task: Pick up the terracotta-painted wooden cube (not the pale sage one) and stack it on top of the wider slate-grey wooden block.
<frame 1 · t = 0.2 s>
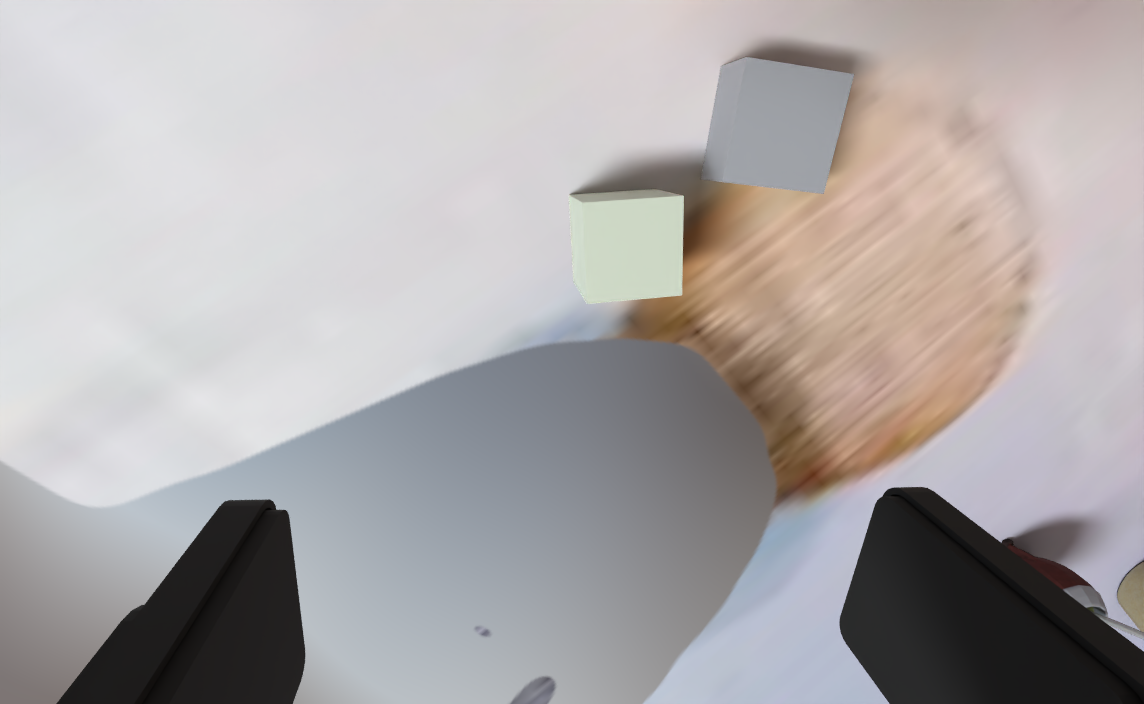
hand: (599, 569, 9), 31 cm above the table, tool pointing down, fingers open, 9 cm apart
slate-grey block: (757, 131, 37), on the table
sage cube: (613, 236, 38), on the table
mate gourd: (1002, 558, 55), on the table
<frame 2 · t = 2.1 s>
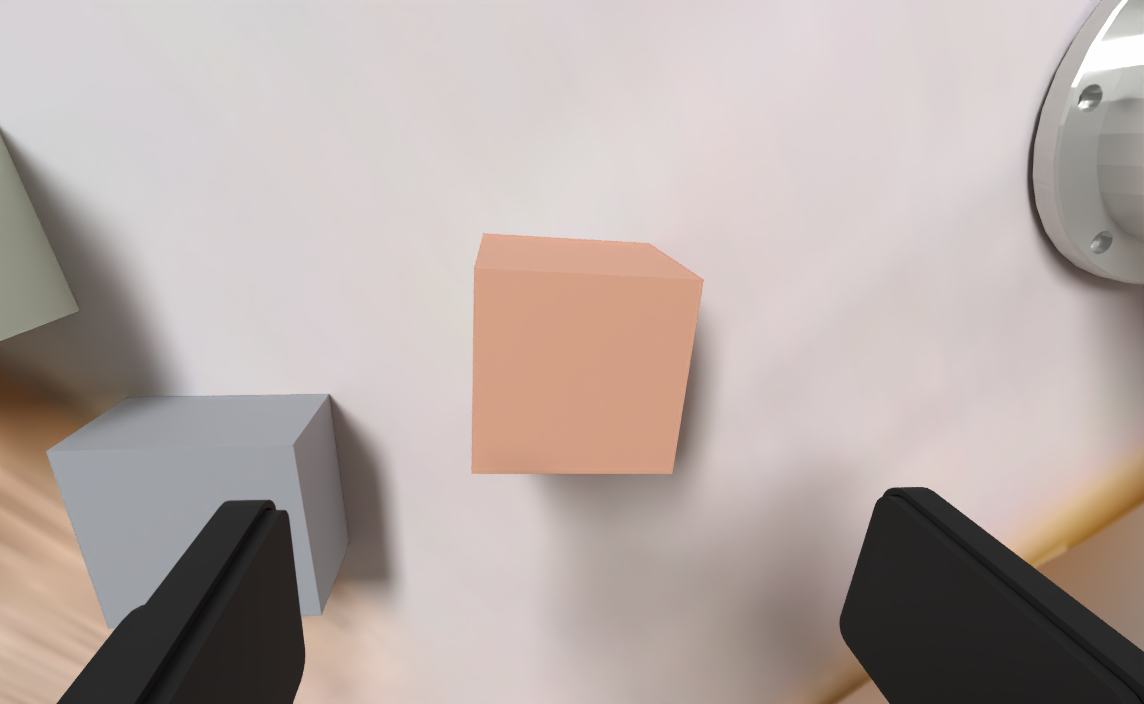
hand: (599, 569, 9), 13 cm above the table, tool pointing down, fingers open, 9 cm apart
slate-grey block: (249, 472, 22), on the table
terracotta cube: (561, 317, 21), on the table
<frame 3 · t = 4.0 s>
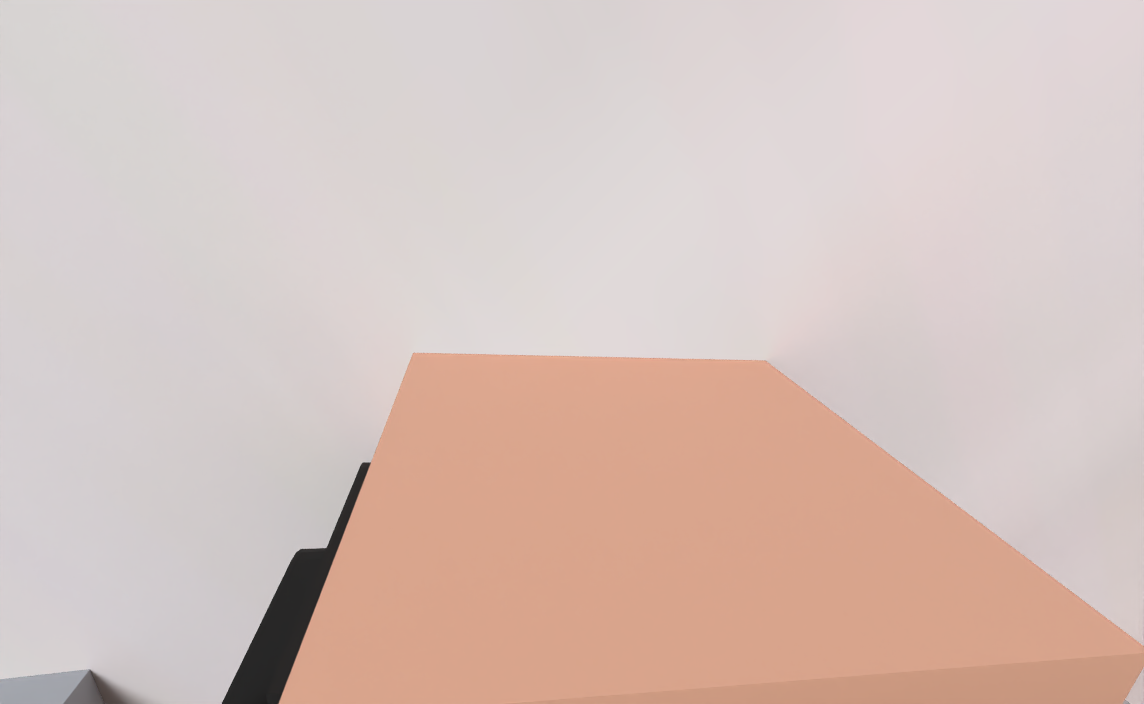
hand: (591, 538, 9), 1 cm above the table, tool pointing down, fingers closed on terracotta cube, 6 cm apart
terracotta cube: (583, 507, 10), on the table, touching gripper
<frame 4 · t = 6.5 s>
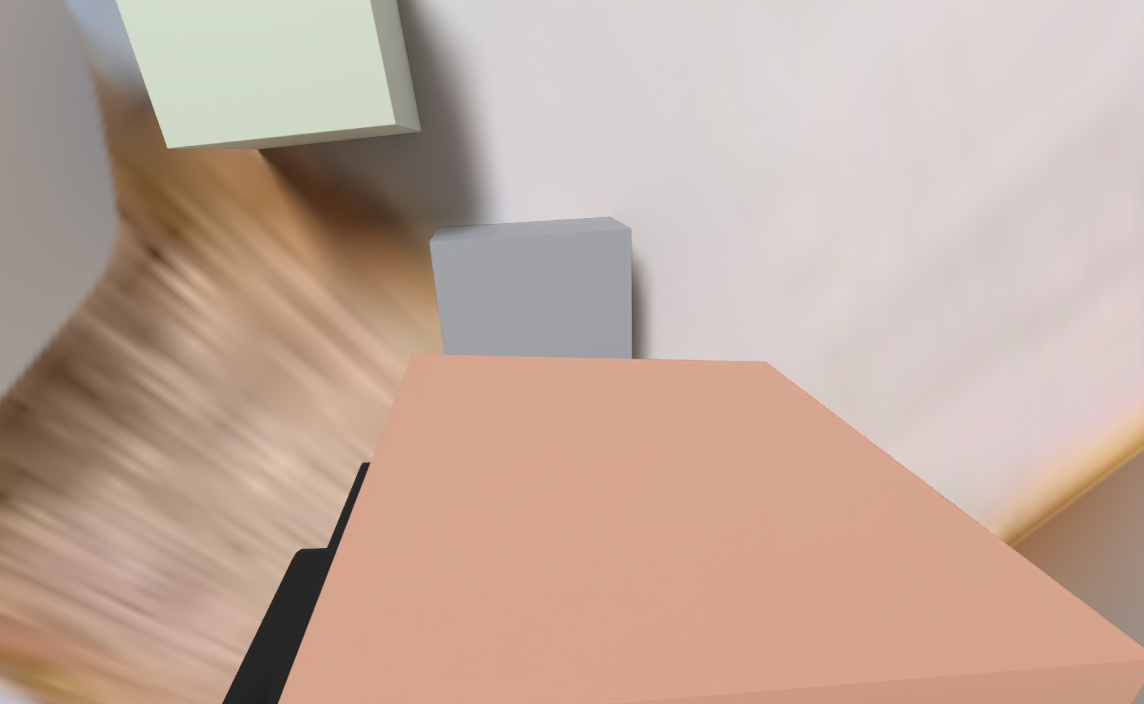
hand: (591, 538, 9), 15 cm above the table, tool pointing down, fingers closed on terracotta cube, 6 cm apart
slate-grey block: (531, 302, 24), on the table
terracotta cube: (583, 509, 10), point 14 cm above the table, touching gripper
sage cube: (319, 50, 19), on the table
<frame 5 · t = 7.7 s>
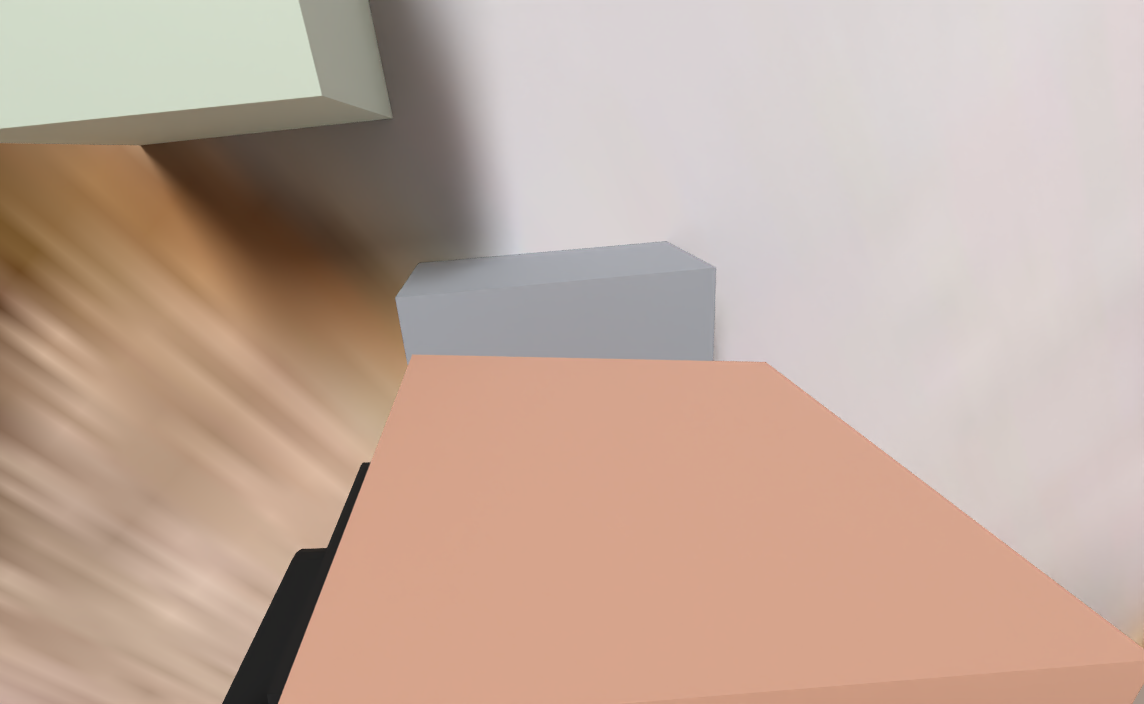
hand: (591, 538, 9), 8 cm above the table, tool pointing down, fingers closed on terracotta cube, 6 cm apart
slate-grey block: (553, 363, 17), on the table
terracotta cube: (583, 509, 10), point 7 cm above the table, touching gripper
when the fingers open (6 cm above the table, at t = 8.9 s): terracotta cube drops 1 cm, resting on slate-grey block.
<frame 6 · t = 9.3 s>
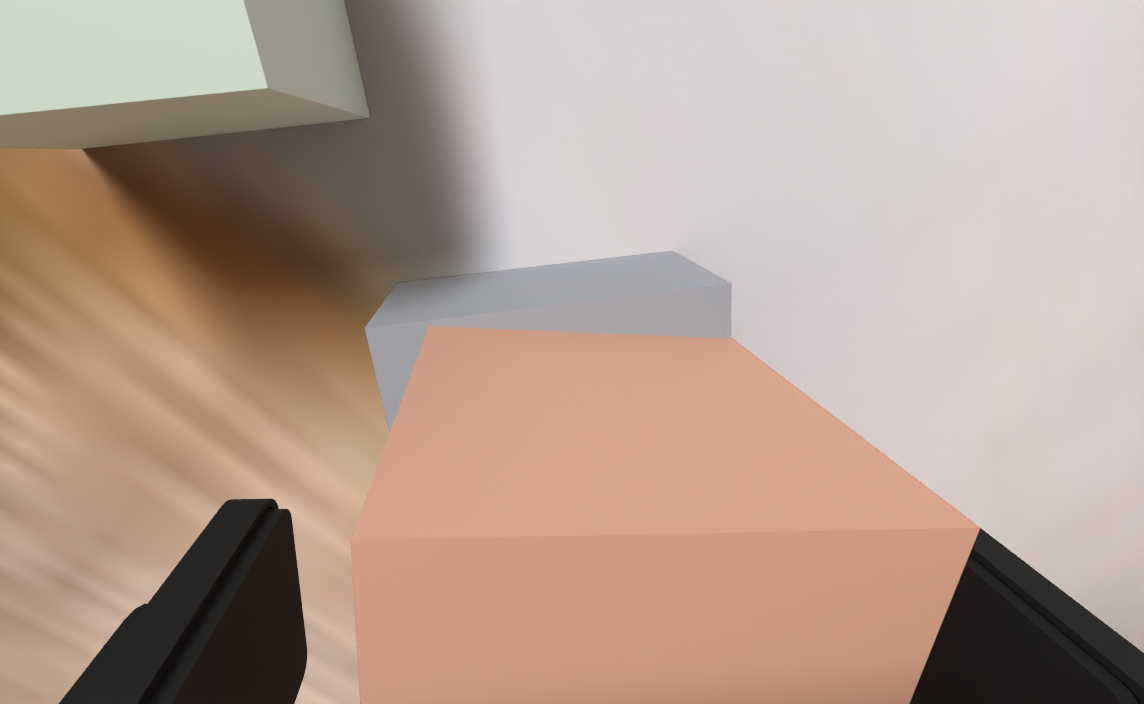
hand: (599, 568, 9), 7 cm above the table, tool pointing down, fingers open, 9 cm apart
slate-grey block: (551, 387, 15), on the table, touching terracotta cube
terracotta cube: (573, 466, 12), point 4 cm above the table, touching slate-grey block
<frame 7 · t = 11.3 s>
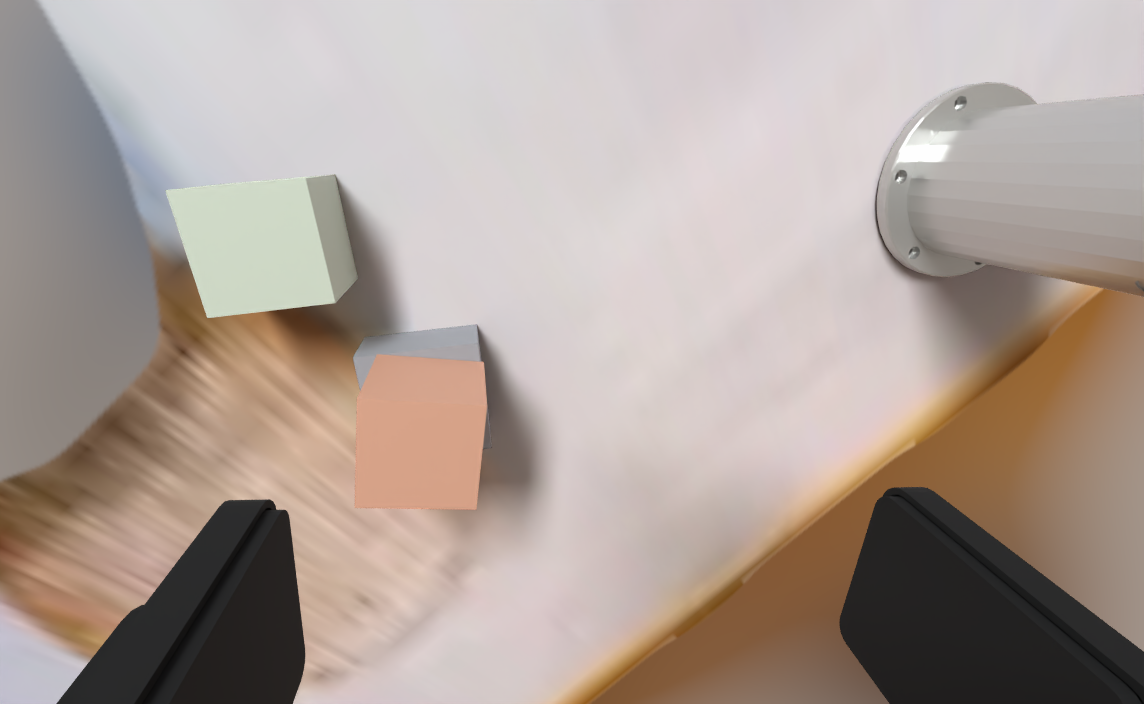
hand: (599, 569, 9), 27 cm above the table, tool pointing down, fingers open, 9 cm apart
slate-grey block: (430, 379, 36), on the table, touching terracotta cube
terracotta cube: (428, 405, 32), point 4 cm above the table, touching slate-grey block
sage cube: (293, 233, 31), on the table
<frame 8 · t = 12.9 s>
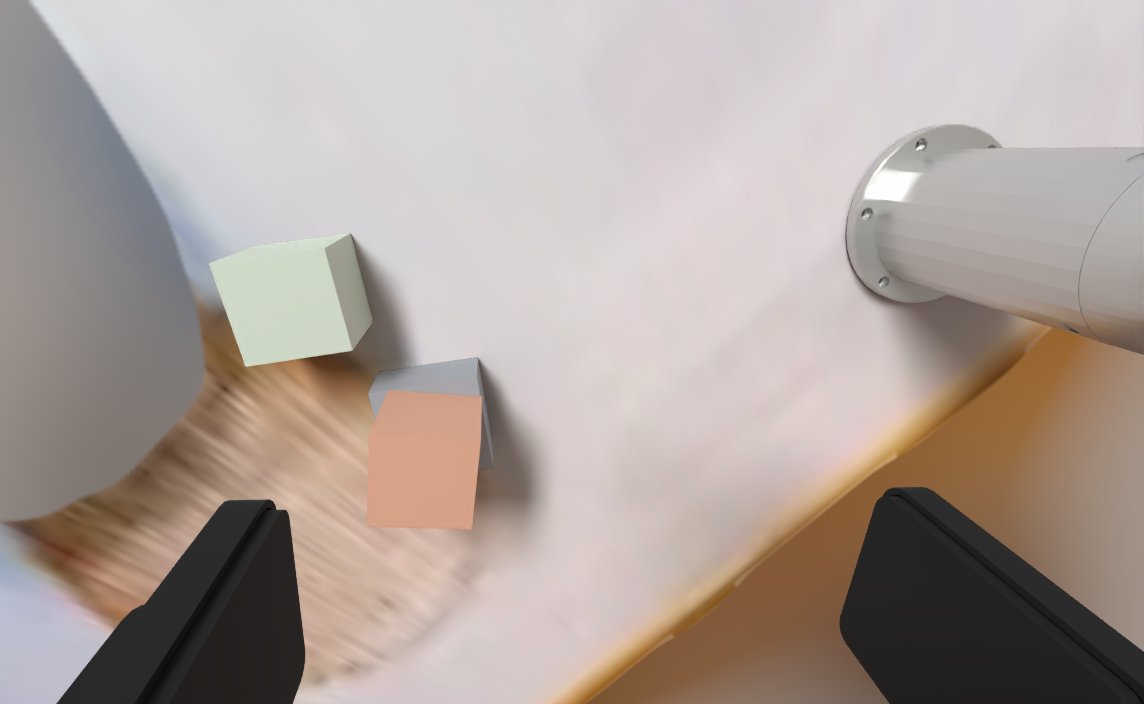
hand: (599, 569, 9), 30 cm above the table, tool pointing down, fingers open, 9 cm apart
slate-grey block: (438, 406, 40), on the table
terracotta cube: (432, 433, 36), point 4 cm above the table
sage cube: (316, 284, 36), on the table
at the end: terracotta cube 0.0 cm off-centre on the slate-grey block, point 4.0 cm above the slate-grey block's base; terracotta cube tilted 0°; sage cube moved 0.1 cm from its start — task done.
